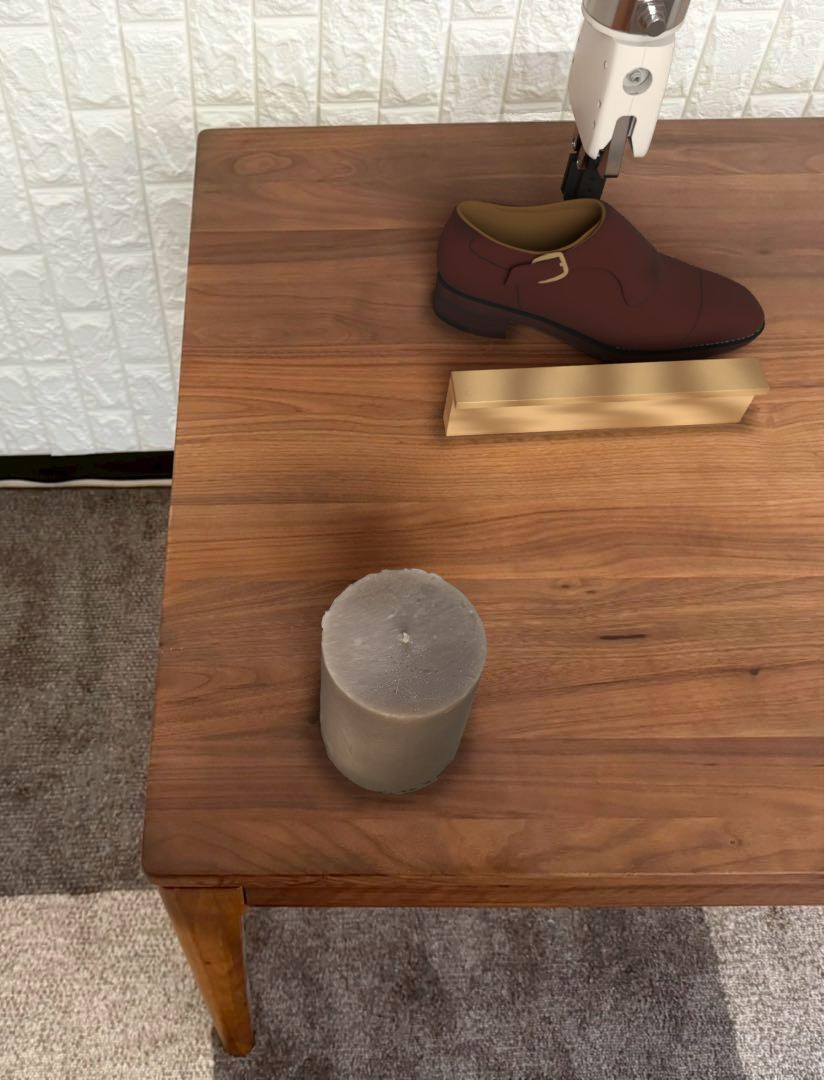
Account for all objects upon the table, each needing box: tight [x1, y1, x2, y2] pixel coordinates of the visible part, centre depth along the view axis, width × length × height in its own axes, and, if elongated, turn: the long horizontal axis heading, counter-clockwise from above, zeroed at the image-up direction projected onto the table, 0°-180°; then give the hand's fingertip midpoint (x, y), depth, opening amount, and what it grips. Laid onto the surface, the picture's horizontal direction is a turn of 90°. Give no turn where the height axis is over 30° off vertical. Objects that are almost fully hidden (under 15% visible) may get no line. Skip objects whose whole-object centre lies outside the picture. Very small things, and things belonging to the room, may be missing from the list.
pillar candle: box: [319, 567, 488, 795], centre depth 63 cm, size 10×10×15 cm
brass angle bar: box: [442, 356, 771, 437], centre depth 80 cm, size 24×3×6 cm, turn 92°
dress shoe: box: [433, 198, 766, 364], centre depth 84 cm, size 9×28×12 cm, turn 80°
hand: (579, 196), depth 89 cm, fingers closed
